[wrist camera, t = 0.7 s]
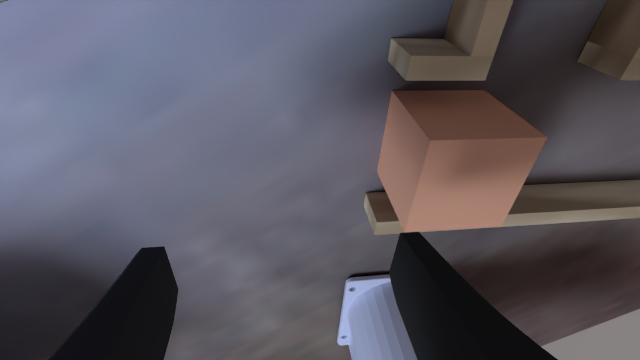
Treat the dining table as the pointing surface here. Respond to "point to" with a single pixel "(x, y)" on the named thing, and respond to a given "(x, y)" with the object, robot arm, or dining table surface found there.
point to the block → (454, 158)
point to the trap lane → (473, 65)
